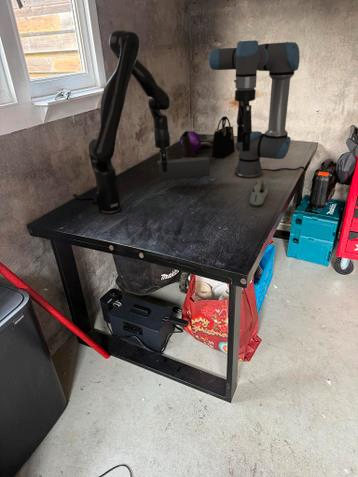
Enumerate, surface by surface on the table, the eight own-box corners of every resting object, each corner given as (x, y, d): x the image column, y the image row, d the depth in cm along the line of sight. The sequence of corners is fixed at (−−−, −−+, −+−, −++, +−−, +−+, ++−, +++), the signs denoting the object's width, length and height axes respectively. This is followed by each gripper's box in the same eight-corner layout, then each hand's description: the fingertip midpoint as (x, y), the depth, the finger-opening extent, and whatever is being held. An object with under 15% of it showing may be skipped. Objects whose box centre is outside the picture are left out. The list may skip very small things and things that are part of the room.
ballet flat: (269, 188, 169) (270, 173, 165) (265, 208, 149) (266, 191, 145) (252, 187, 171) (253, 172, 167) (246, 206, 151) (247, 190, 147)
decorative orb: (204, 151, 235) (204, 129, 228) (194, 156, 225) (193, 134, 217) (186, 149, 243) (186, 128, 235) (175, 154, 232) (174, 132, 224)
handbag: (223, 159, 216) (223, 119, 204) (210, 157, 220) (210, 119, 208) (235, 151, 231) (236, 113, 218) (223, 150, 235) (224, 113, 223)
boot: (199, 157, 223) (198, 126, 213) (193, 168, 203) (192, 135, 193) (186, 157, 225) (185, 126, 215) (179, 168, 205) (177, 135, 195)
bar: (207, 172, 179) (207, 156, 174) (209, 175, 174) (209, 159, 170) (159, 177, 177) (157, 160, 173) (159, 180, 173) (158, 163, 168)
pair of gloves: (199, 150, 238) (199, 142, 236) (185, 142, 259) (184, 136, 256) (235, 144, 248) (235, 136, 245) (218, 137, 269) (218, 130, 266)
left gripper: (154, 134, 170) (157, 166, 179) (155, 141, 158) (158, 175, 167) (168, 133, 171) (170, 165, 179) (170, 139, 158) (172, 173, 167)
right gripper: (230, 86, 133) (229, 139, 144) (240, 93, 111) (238, 155, 122) (249, 85, 133) (246, 138, 143) (262, 92, 111) (258, 154, 122)
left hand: (164, 169), depth 173 cm, fingers closed on bar, 5 cm apart
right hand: (242, 146), depth 133 cm, fingers open, 13 cm apart
